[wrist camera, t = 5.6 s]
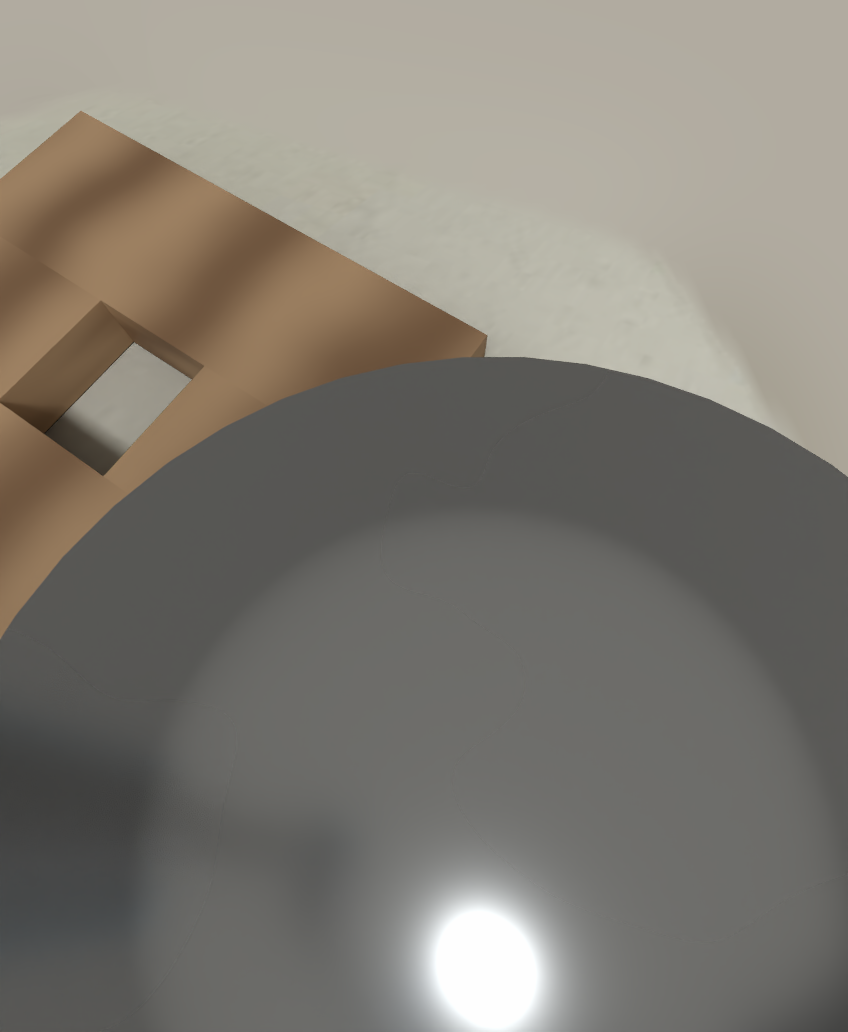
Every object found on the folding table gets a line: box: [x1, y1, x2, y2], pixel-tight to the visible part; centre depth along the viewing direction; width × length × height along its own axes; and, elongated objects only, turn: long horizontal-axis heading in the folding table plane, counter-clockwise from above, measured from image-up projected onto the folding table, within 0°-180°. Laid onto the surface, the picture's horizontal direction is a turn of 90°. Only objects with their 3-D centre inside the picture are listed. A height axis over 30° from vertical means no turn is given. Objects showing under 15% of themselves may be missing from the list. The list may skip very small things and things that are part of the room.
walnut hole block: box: [0, 111, 487, 639], centre depth 22 cm, size 20×18×2 cm
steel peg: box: [0, 357, 848, 1032], centre depth 10 cm, size 4×4×18 cm
